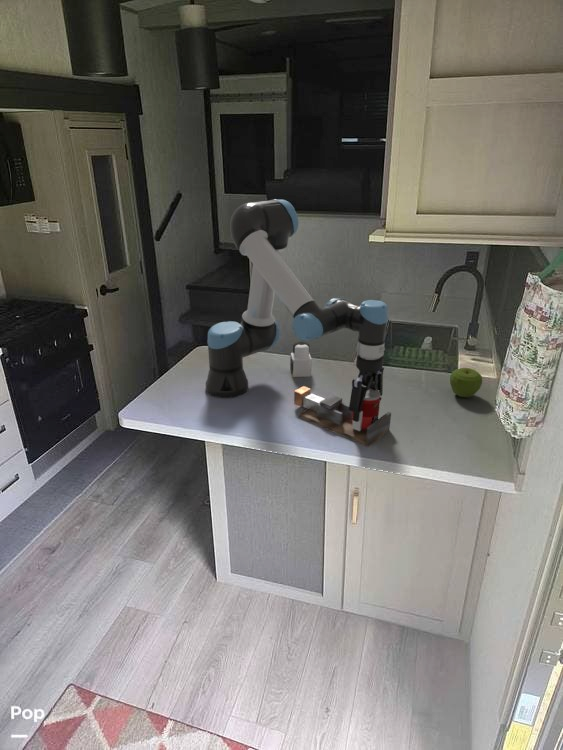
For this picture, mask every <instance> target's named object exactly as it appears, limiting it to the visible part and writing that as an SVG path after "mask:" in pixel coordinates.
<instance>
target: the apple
mask: <svg viewBox="0 0 563 750" xmlns="http://www.w3.org/2000/svg"><path fill="white" fill-rule="evenodd" d="M449 379H450V380H449V383H450V384H449V385H450V386H451V390H452V392H453V393H454V394H455V395H457V396H458V397H461V398H463V397H468V398H471V397H473V396H474V395H475V394H476V393H477V392H478V391H479V390H480V389H481V386H482V384H483V376H482V375H481V374H480V373H479V372H478V371H477V370H475V369H473V368H470V367H469V368H468V367H461V368H458V369H454V370H453V371H452V372H451V374H450V375H449Z"/></svg>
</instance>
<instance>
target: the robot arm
mask: <svg viewBox="0 0 563 750" xmlns="http://www.w3.org/2000/svg"><path fill="white" fill-rule="evenodd" d="M229 223H230V224H229V231H230V238H231V239H232V241H233V244H234V245H235V248H236V249H237V250H238V251H239V253H240V254H241V255H242V256H244V257H245V256H247V258H248V259H249V261H250V262H251V263H252V270H251V279H250V284H249V285H250V287H249V294H248V300H247V301H248V303H247V309H246V310H245V311H244V312H243V313H242V314H241V322H240V323H239V322H237V321H235V320H234V321H231V320H229V321H222V322H218V323H215V324H213V325H212V326H211V327H210V328H209V329H208V331H207V341H206V342H207V347H208V349H207V353H208V363H209V370H208V374H207V379H206V381H205V391H206V393H207V394H208V395H210V396H213V397H215V398H220V399H221V398H222V399H229V398H235V397H236V398H237V397H239V396H243V394H246V392H247V391H248V390H249V380H248V378H247V374H246V373H245V372H246V371H245V369H244V365H243V364H244V362H243V361H244V360H243V359H244V358H245V357H248V356H249V357H250V356H252V355H254V354H258V353H261V352H264V351H267V350H269V349H271V348H272V347H275V345H276V344H277V342H278V341H279V338H280V328H279V324H278V321H277V320H276V318H275V316H274V314H273V308H274V301H275V295H276V297H278V299H279V300H280V302H281V303H282V305H283V306H284V307H285V308H286V310H287V311H288V312H289V314H290V315H291V316H292V318H293V319H292V325H291V326H292V330H293V333H294V335H295V336H296V338H297V339H298V340H301V341H302V342H308V341H312V340H317V339H319V338H321V337H323V336H325V335H328V334H331V333H334V332H337V331H341V330H343V329H348V330H351V331H353V332H356V333H357V332H358V333H357V334H358V335H357V337H358V338H357V339H358V340H357V348H356V354H357V355H356V361H355V363H356V364H355V366H356V368H357V369H358V371H359V372H358V373H359V374H358V376H357V379H355V378H353V379H352V382H351V391H350V399H349V404H348V405H349V411H352V412H353V423H352V428H353V429H355V430H358V431H361V426H362V415H363V411H361V409H362V406H363V401H364V398H365V396H366V392H367V391H368V390H369V388H370V389H373V390H378V391H379V392H380V401H382V396H383V390H384V389H383V386H384V385H383V384H384V383H383V380H384V378H383V377H384V376H383V375H384V372H385V371H384V369H385V368H384V366H383V363H384V354H385V353H384V351H385V350H386V348H385V343H386V333H387V326H388V319H389V318H388V309H389V307H388V305H387V303H385V302H384V301H382V300H375V299H367V300H364V301H362V302H361V304H359V303H355V302H352V301H349V300H347V299H344V298H338V297H334V298H331V299H329V301H328V302H326V304H325V305H324V306H323V307H320V306H319V305H318V303H317V302H316V300H315V299H314V298H313V297H312V296H311V294H310V293H309V292H308V291H307V289H306V288H305V287H304V285H303V284H302V283H301V281H300V280H299V278H297V276H296V275H295V274H294V272H293V271H292V270H291V268H290V267H289V265H288V264H287V263H286V262H285V261H284V259H283V258H282V251H284V250H285V249H287V247H288V242H289V238H291V237H292V236H294V235H295V234H296V233H297V231H298V229H299V216H298V213H297V212H296V209H295V207H294V206H293V205H292V203H291V202H290V201H287V200H286V199H276V198H274V199H270V200H264V201H263V200H262V201H253V202H251V201H250V202H246V203H243V204H241V205H240V206H238V207H237V208H236V209H235V210H234V212H233V214H232V215H231V217H230V222H229Z"/></svg>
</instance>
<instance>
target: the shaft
mask: <svg viewBox="0 0 563 750" xmlns="http://www.w3.org/2000/svg"><path fill="white" fill-rule="evenodd" d="M324 399H326V397H321V396H319V395H316V394H315V393H312V390H311V388H309V387H307V386H305V385H303V386H301V387H299V388H298V389H296V390H294V399H293V401H294V402H293V404H294V405H295V406H298V407H301V408H306V409H310V410H313V411H315V412H317V405H318V404H320V402H321V401H322V400H324ZM339 405H340V404H338V405H336V406H335V407H333V408H332V409H334V410H337V411H339Z"/></svg>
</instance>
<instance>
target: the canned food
mask: <svg viewBox="0 0 563 750" xmlns="http://www.w3.org/2000/svg"><path fill="white" fill-rule="evenodd" d="M380 397H381V396H380V392H379V390H373V389H370V388H369V390H368V391H367V392H366V396H365V398H364V401H363V406H362V409H361V411H363V415H362V426H361V430H367V427H369V426H370V425H371V424H373V423H374V422H375V421H377V420H378V419H379V413H380V406H381V405H380V404H381V400H380ZM351 422H352V423H353V412H352V418H351Z"/></svg>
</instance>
